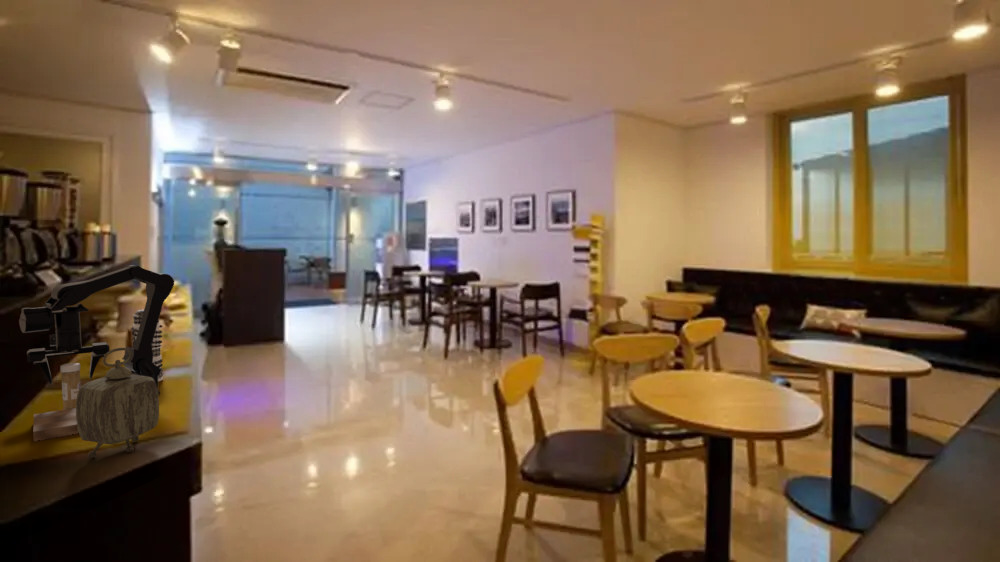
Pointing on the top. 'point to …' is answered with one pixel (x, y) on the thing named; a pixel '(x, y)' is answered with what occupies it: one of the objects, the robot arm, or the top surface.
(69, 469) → the top surface
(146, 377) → the tabletop clock
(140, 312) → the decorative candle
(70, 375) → the sprinkles bottle
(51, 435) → the wooden board
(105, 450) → the top surface
